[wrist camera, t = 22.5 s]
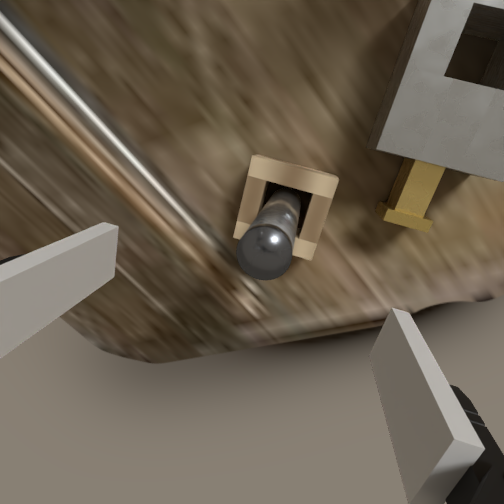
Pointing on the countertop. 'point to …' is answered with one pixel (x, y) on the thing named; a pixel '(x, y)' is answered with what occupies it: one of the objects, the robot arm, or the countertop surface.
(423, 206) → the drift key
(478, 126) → the socket block
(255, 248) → the rod
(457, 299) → the countertop surface
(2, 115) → the countertop surface
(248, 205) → the wooden square frame
